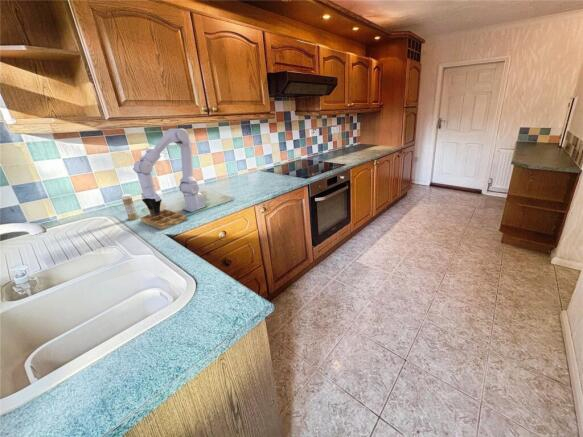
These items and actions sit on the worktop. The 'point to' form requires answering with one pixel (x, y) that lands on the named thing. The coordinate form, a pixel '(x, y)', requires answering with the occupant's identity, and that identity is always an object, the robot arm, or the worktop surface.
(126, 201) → the sprinkles bottle
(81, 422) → the worktop surface
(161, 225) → the grid
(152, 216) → the token
